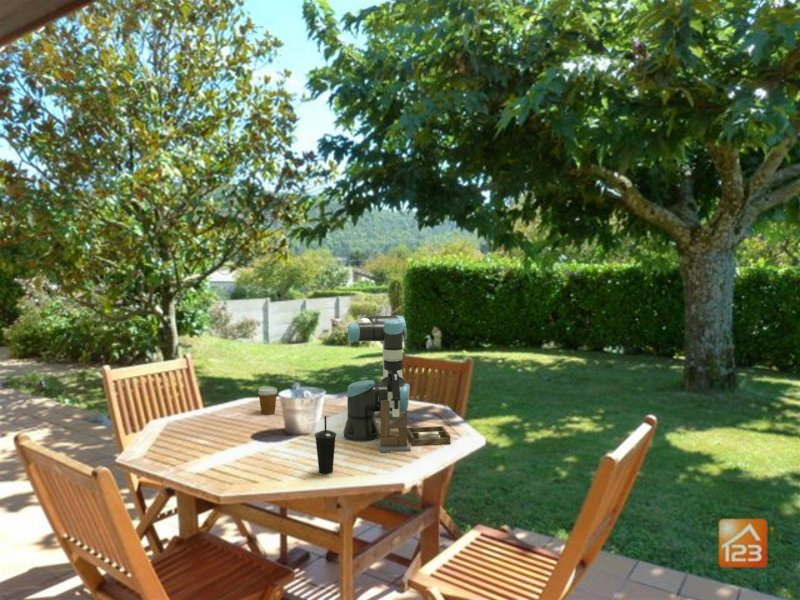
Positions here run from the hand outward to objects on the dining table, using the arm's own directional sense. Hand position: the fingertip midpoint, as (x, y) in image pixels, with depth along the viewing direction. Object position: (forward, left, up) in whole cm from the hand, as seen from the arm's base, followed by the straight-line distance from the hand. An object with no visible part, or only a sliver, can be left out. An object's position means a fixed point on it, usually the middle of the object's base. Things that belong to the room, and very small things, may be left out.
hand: (393, 412), depth 233 cm
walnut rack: (+16, +7, -14) cm, 22 cm away
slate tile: (0, 0, -14) cm, 14 cm away
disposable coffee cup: (-54, +61, -15) cm, 82 cm away
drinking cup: (-28, -23, -15) cm, 39 cm away
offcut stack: (+15, +4, -15) cm, 21 cm away
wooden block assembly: (0, 0, -14) cm, 14 cm away
